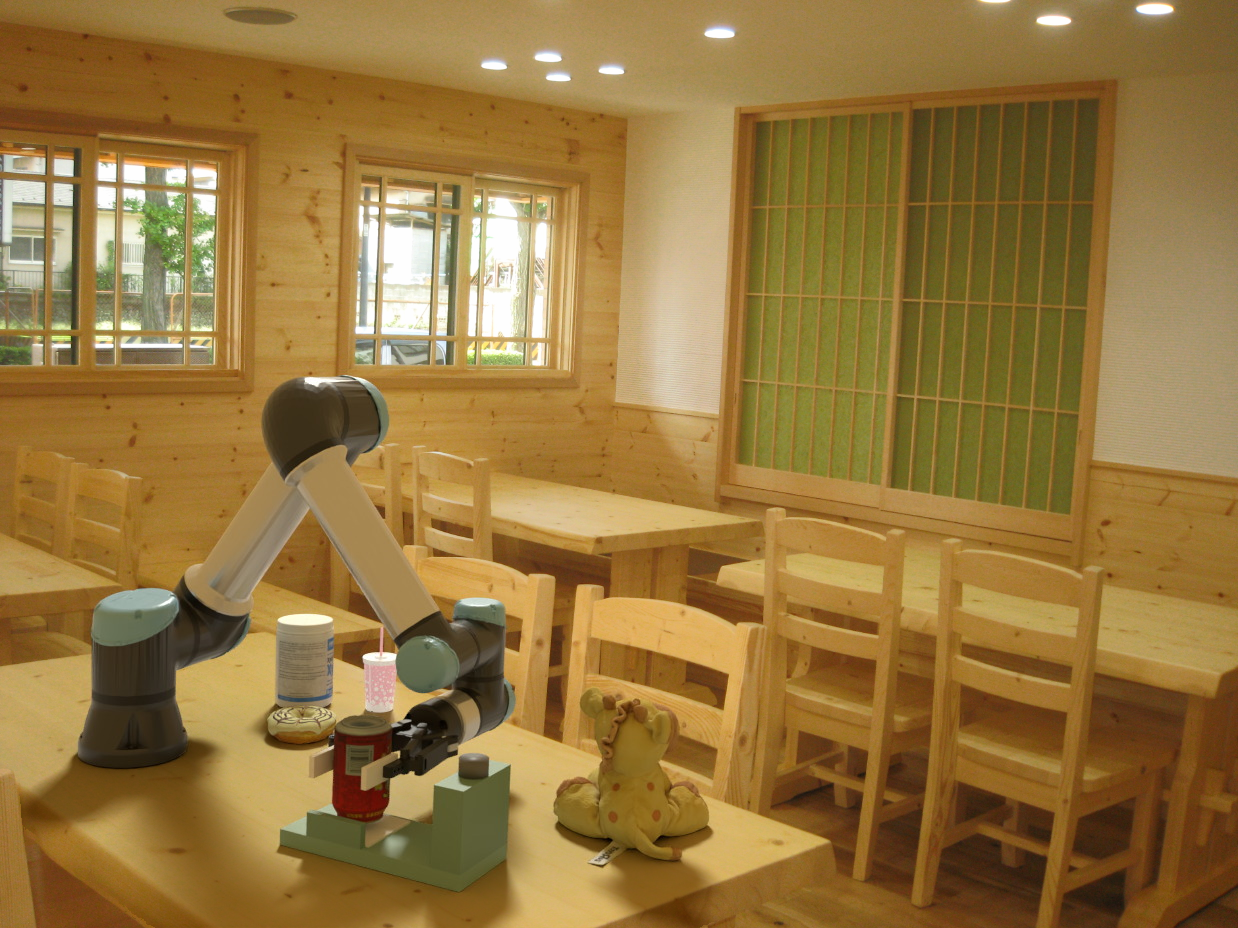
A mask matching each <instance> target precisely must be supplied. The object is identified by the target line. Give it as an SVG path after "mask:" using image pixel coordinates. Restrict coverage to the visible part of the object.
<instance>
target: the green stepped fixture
mask: <svg viewBox="0 0 1238 928" xmlns="http://www.w3.org/2000/svg"><path fill="white" fill-rule="evenodd" d="M511 765H512V764H511V763H507V762H501V761H498V760H497V761H496V760H493V759H492V760H491V759H490V756H488V755H487V754H483V753H479V752H469V753H464V754H461V755H459V756H458V770H457V772H454V773H453V774H451V775H449V776H448V777H446V778H443V779H442V780H440V781H438V782H436V783H434V784H433V794H432V795H433V796H432V797H433V799H432V800H433V803H432V824H429V823H427V822H423V821H422V822H421V821H418V820H415V819H414V820H413V819H410V818H406V817H401V816H397V815H392V814H389V813H385V812H384V813H383V817H382V819H380V820H379V821H376V822H373V823H369V824H366V823H365V822H361V821H357V820H353V819H349V818H344V817H340V816H337V812H336V811H335V809H334V807H333V804H332V802H331V803H329V804H327V805H325V806H322V807H321V808H319V809H318V810H316V809H310V810H309V811H306V816H302V817H301V818H299V819H297V820H296V821H293V822H291V823H289V824H287V825H285V826H284V827H281V828H280V829H279V845H281V846H282V847H283V846H284V847H288V848H292V849H294V850H299V851H303V852H306V853H309V854H310V853H311V854H314V855H318V856H321V857H325V858H329V859H334V860H337V861H340V862H344V863H346V864H347V863H348V864H352V865H355V866H360V867H363V868H367V869H371V870H375V871H376V872H377V871H378V872H382V873H386V874H389V875H393V876H396V877H397V876H398V877H401V878H405V879H408V880H412V881H416V882H419V883H424V884H427V885H430V886H435V887H438V888H442V889H445V890H450V891H454V892H457V893H460V892H462V891H463V890H464V889H466V888H467V887H469V886H470V885H472V884H473V883H474V882H476V881H478V880H479V879H480V878H481V877H483V876H485V874H487V873H488V872H490V871H491V870H493V869H494V868H496V867H497V866H498V865H500V864H501V863H503V862H504V861H505V860H507V858H508V857H507V855H508V854H507V853H508V834H509V833H508V831H509V817H510V816H509V813H510V812H509V810H510V792H511V791H510V788H511V771H512V770H511V769H512V768H511V767H512V766H511Z"/></svg>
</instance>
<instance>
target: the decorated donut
mask: <svg viewBox="0 0 1238 928" xmlns="http://www.w3.org/2000/svg"><path fill="white" fill-rule="evenodd" d="M266 722H267V729H268V732H269V734H270V735H271V736H273V737H275V738H276V739H277V740H278V741H279V742H281V741H282V742H283V743H288V744H296V745H304V744H311V743H316V742H318V741H323V739H324V740H325V739H326V738H328V737H329V736H330V735H332V734H334V728H335V725H336V724H337V714H336V713H335V712H334V711H332V710H330V709H328V708H326V707H318V706H288V707H284V708H282V707H280V708H278V709H277V710H274V711H273V712H271V713H270V715H269V716H268V718H267V719H266ZM327 736H328V737H327ZM303 743H304V744H303Z"/></svg>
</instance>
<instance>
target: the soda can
mask: <svg viewBox="0 0 1238 928" xmlns="http://www.w3.org/2000/svg"><path fill="white" fill-rule="evenodd" d="M391 724H392V723H390V722H389V721H388V720H386V719H385V718H384V717H382V716H379V715H378V716H377V715H374V714H360V715H354V714H353V715H349V716H346V717H344V718H343V719H341V720H339V721H338V722H336V725H335V728H334V731H333V734H334V759H333V770H332V789H331V791H332V793H331V796H332V797H331V803H332V804H333V807H334V809H335V811H336V812H337V816H340V817H344V818H349V819H353V820H357V821H361V822H365V823H366V824H369V823H373V822H376V821H379V820H380V819H382V817H383V813H385V811H386V809H387V808H388V806H389V803H390V794H391V793H390V792H391V791H390V790H391V778H390V779H388V780H386V781H384V782H382V783H380V784H378V785H376V786H374V787H372V788H370V789H368V790H366V791H365V790H361V769H362V767H364V766H366V765H368V764H370V763H372V762H374V761H376V760H379V759H381V758H383V757H385V756H387V755H389V754H391V745H392V726H391Z"/></svg>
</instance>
